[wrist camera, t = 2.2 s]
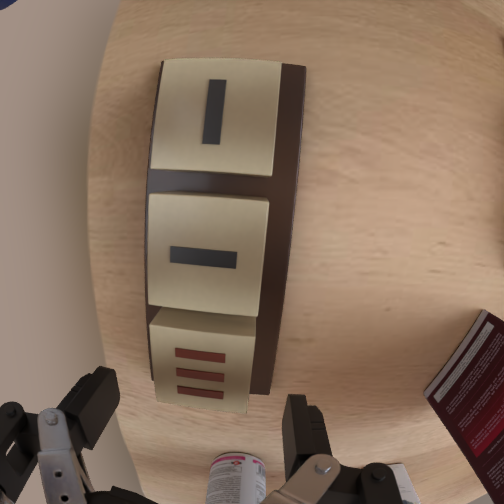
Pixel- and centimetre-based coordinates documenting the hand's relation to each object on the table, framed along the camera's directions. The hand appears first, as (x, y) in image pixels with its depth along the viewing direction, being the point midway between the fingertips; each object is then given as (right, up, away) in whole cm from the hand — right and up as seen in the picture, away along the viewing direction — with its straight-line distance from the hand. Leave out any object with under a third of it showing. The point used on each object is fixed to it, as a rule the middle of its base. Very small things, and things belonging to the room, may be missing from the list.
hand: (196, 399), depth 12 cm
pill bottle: (+1, -12, +9) cm, 15 cm away
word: (+1, +7, +4) cm, 9 cm away
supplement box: (+20, -2, +7) cm, 21 cm away
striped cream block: (0, +1, +5) cm, 5 cm away
